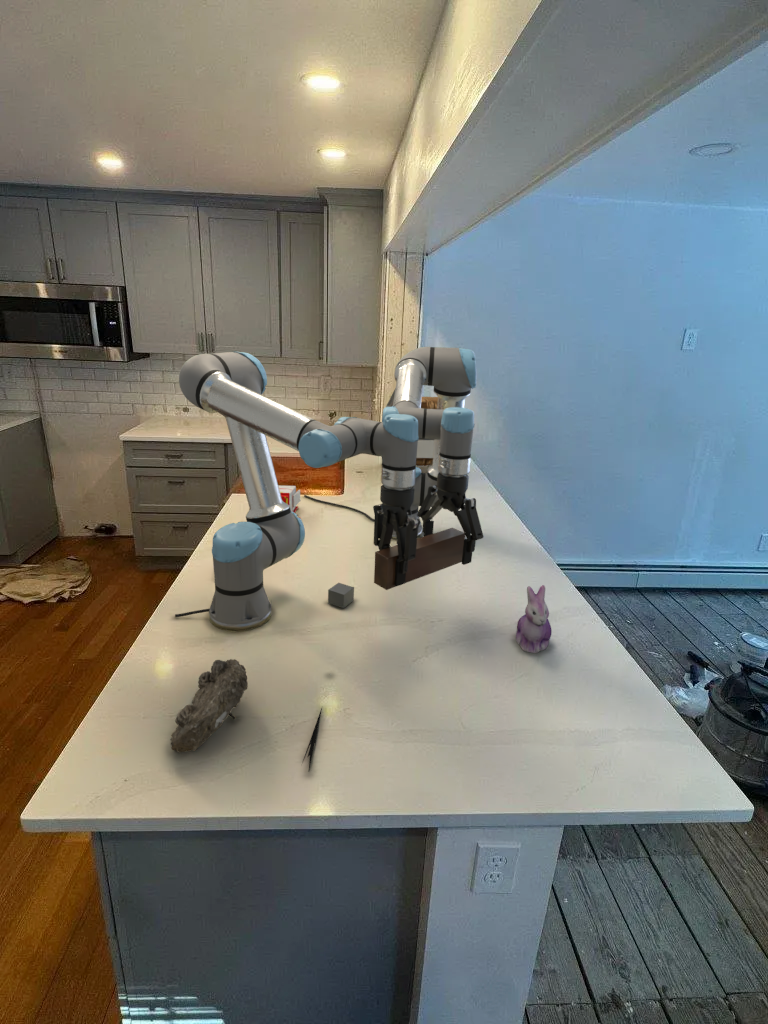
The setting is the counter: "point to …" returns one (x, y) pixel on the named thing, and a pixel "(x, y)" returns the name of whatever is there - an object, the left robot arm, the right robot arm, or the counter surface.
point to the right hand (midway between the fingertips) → (446, 553)
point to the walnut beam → (421, 557)
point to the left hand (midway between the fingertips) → (392, 579)
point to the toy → (290, 496)
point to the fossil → (210, 704)
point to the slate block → (341, 595)
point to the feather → (313, 740)
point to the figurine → (534, 623)
